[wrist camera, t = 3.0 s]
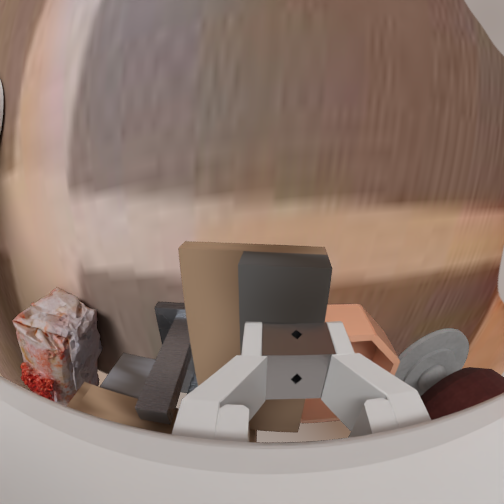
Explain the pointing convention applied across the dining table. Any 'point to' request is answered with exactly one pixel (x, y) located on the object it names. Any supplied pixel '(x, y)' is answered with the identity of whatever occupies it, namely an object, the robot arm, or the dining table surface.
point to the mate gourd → (446, 374)
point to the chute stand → (168, 366)
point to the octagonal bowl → (363, 341)
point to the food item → (58, 346)
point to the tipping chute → (225, 323)
